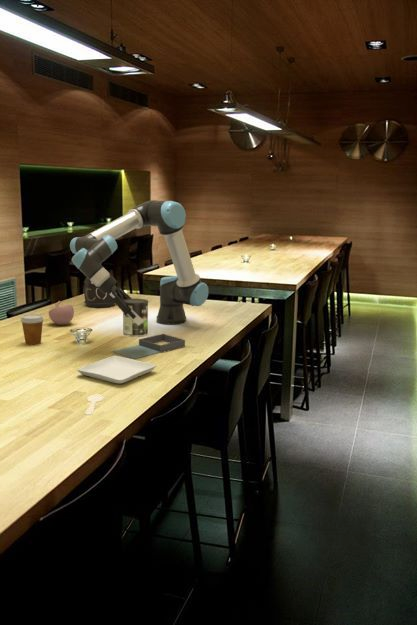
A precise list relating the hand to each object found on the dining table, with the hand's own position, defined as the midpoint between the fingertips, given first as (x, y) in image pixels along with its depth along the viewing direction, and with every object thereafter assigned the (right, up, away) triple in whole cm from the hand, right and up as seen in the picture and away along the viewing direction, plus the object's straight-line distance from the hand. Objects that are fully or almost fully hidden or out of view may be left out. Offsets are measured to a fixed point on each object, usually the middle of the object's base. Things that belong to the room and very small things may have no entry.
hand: (142, 320), depth 246 cm
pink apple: (-45, -3, +48) cm, 66 cm away
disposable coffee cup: (-49, -10, +13) cm, 52 cm away
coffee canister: (-34, +7, +95) cm, 101 cm away
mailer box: (+2, -12, +8) cm, 15 cm away
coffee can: (-3, -6, +1) cm, 7 cm away
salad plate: (-7, -20, -25) cm, 33 cm away
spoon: (-10, -26, -55) cm, 62 cm away
